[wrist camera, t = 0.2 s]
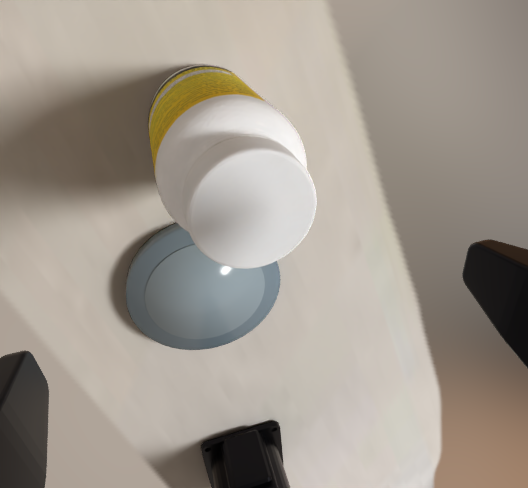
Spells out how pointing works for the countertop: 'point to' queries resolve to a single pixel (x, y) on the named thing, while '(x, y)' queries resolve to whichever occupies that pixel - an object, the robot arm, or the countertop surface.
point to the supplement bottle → (229, 167)
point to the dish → (195, 293)
